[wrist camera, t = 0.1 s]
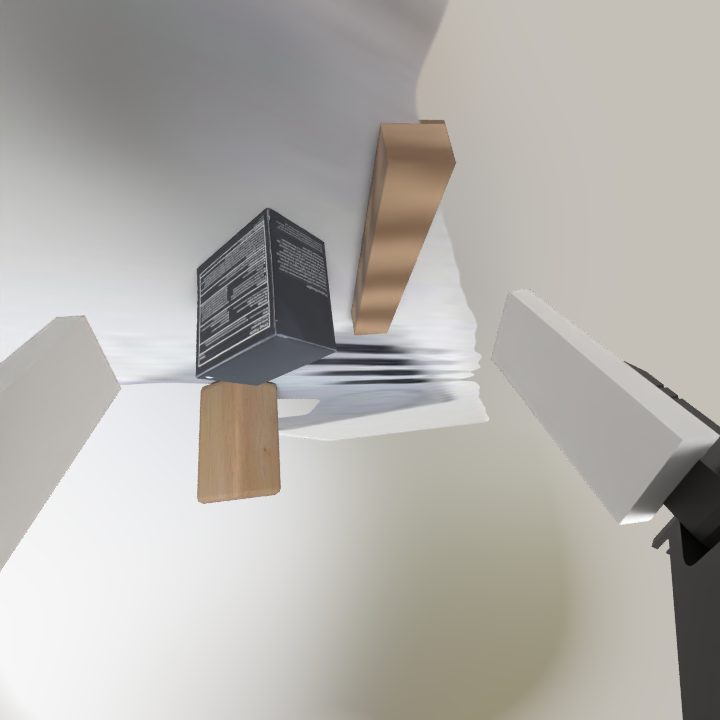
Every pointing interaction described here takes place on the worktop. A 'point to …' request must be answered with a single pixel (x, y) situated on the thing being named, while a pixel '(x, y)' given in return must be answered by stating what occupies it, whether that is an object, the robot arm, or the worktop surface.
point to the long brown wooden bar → (399, 216)
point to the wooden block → (238, 442)
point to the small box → (263, 304)
